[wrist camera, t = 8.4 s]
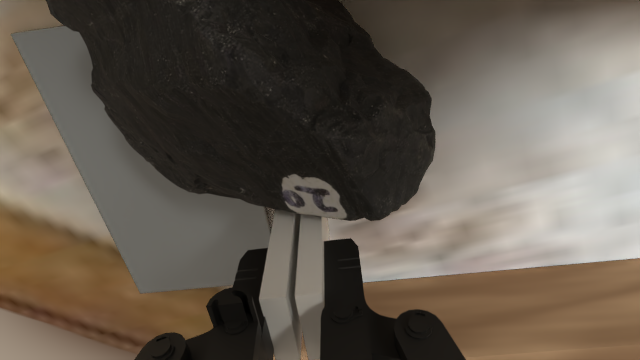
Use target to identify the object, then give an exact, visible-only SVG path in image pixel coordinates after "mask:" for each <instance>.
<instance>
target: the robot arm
mask: <svg viewBox="0 0 640 360" xmlns="http://www.w3.org/2000/svg"><path fill="white" fill-rule="evenodd" d="M206 307H207V310H208V313H209V316H210V318H211V321H212V324H213V326H214V327H213V329H212V330H210V331H208V332H206V333H204V334H202V335H199V336H196V337H194V338H191V339H188V340H185V339H184V338H183V336H182V335H180V334H177V333H165V334H162V335H159V336H157V337H155V338H154V339H152V340H151V341H149V342H148V343H147V344H146V345H145V346H144V347H143V348H142V350H141V351H140V353H139V354H138V355H137V357H136V359H135V360H273V355H274V356H275V359H276V360H301V342H302V332H303V337H304V341H305V346H306V350H307V355H308V360H317V359H320V360H466V359H465V357H464V356H463V354H462V353H461V351H460V349H459V348H458V346H457V345H456V343H455V342H454V340H453V339H452V337H451V335H450V334H449V332H448V331H447V329H446V328H445V326H444V324H443V323H442V321H441V320H440V319H439V318H438V317H437V316H436V315H434V314H432V313H430V312H428V311H425V310H420V309H414V310H408V311H406V312H403V313H401V314H400V315H399V316H398V317H397V319H396V318H391V317H386V316H382V315H379V314H378V313H376V312H374V311H373V310H372V309H370V308H369V306H368V305H367V303H366V301H365V296H364V289H363V281H362V273H361V266H360V258H359V250H358V246H357V245H356V244H355V242H354V241H353V240H352V239H351V238H350V239H340V240H330V241H329V228H328V221H327V217H321V216H316V215H307V214H297V213H292V212H288V211H283V210H276V209H275V213H274V218H273V224H272V229H271V235H270V240H269V246H268V248H262V249H252V250H248V251H247V252H246V253H245V254H244V255H243V257H242V258H241V259H240V261H239V265H238V269H237V273H236V276H235V281H234V284H233V287H232V288H228V289H224V290H222V291H221V292H219V293H217V294H216V295H214V296H213V297H212V298H211V299H210V300H209V302H208V304H207V306H206Z"/></svg>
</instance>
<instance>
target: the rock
mask: <svg viewBox="0 0 640 360" xmlns="http://www.w3.org/2000/svg"><path fill="white" fill-rule="evenodd" d="M46 1H47V4H48V7H49V10H50V13H51V14H52V15H53V16H54V17H55V18H56V19H57V20H58V21H59V22H60V23H62V24H63V25H64V26H66V27H67V28H69V29H71V30H72V31H75V32H79V33H80V35H81V37H82V39H83V40H84V42H85V44H86V46H87V49H88V51H89V54H90V57H91V61H92V66H93V69H92V72H91V78H92V84H91V87H92V90H93V92H94V93H95V94H96V95H97V96H98V98H99V99H100V100H101V101H102V102H103V104H104V105H105V108H104V110H105V112H106V113H107V115H108V116H109V118H110V119H111V121H112V122H113V123H114V124H115V126H116V127H117V128H118V129H119V130H120V132H121V133H122V134H123V135H124V137H125V140H126V141H127V142H128V144H129V145H130V146H131V147H132V148H133V149H134V150H135V151H136V152H137V153H139V154H140V155H141V156H142V157H143V158H144V159H145V160H146V161H147V162H149V163H150V164H151V165H152V166H153V167H154V168H155V169H156V170H157V171H158V172H159V173H160V174H162V175H163V176H164V177H165V178H167V179H168V180H169V181H170V182H172V183H173V184H175V185H176V186H178V187H180V188H182V189H184V190H186V191H188V192H191V193H196V194H207V193H208V194H213V195H217V196H223V197H229V198H236V199H241V200H243V201H245V202H247V203H250V204H253V205H257V206H263V207H269V208H272V209H276V210H283V211H288V212H292V213H297V214H307V215H316V216H321V217H328V218H334V219H341V220H348V221H352V220H358V219H361V218H366V219H368V220H370V221H374V220H381V219H383V218H384V217H386V216H388V215H389V214H390V213H391V212H393V211H396V210H398V209H399V208H400V207H401V205H404V204H406V203H407V202H408V201H409V200H410V199H411V198H412V197H413V196H414V195H415V194H416V193H417V191H418V188H419V185H420V182H421V180H422V178H423V176H424V174H425V172H426V170H427V169H428V167H429V165H430V164H431V162H432V161H433V156H434V151H435V130H434V128H433V126H432V124H431V120H430V116H429V115H430V107H431V97H430V95H429V93H428V92H427V91H426V90H425V88H424V86H423V85H422V84H421V83H420V82H419V81H418V80H417V79H416V78H415V77H413V76H412V75H411V74H410V73H409V72H407V71H406V70H404V69H401V68H399V67H398V66H396V65H395V64H393V63H392V62H390V61H389V60H387V59H385V58H383V57H382V56H381V55H380V53H379V52H378V51H377V50H376V49H375V48H374V45H373V42H372V39H371V37H370V35H369V34H368V33H367V32H366V31H365V30H364V29H363V28H362V27H360V26H359V25H358V24H357V23H355V22H354V20H353V19H352V17H351V15H350V13H349V12H348V11H347V9H346V8H345V7H344V5H343V4H341V3H340V2H339V1H338V0H46Z"/></svg>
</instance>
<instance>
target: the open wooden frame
mask: <svg viewBox="0 0 640 360" xmlns="http://www.w3.org/2000/svg"><path fill="white" fill-rule="evenodd" d="M363 289H364V296H365V301H366V303H367V305H368V306H369V308H370V309H372V310H373V311H374V312H376V313H378V314H379V315H382V316H386V317H391V318H396V319H397V317H398V316H399V315H400V314H401V313H403V312H406V311H408V310H414V309H420V310H425V311H428V312H430V313H432V314H434V315H436V316H437V317H438V318H439V319H440V320H441V321H442V323H443V324H444V326H445V328H446V329H447V331H448V332H449V334H450V335H451V337H452V339H453V340H454V342H455V343H456V345H457V346H458V348H459V349H460V351H461V353H462V354H463V356H464V357H465V359H466V360H640V258H639V259H628V260H616V261H605V262H594V263H583V264H571V265H560V266H549V267H537V268H526V269H515V270H503V271H492V272H481V273H469V274H458V275H447V276H435V277H424V278H413V279H402V280H390V281H379V282H368V283H363Z"/></svg>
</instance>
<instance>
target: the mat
mask: <svg viewBox="0 0 640 360" xmlns="http://www.w3.org/2000/svg"><path fill="white" fill-rule="evenodd" d="M11 36H12V38H13V40H14V42H15V44H16V46H17V48H18V50H19V52H20V54H21V56H22V58H23V60H24V62H25V64H26V66H27V68H28V70H29V72H30V74H31V76H32V78H33V80H34V82H35V84H36V86H37V88H38V90H39V92H40V94H41V96H42V98H43V100H44V102H45V104H46V106H47V108H48V110H49V112H50V114H51V116H52V118H53V120H54V122H55V124H56V126H57V128H58V130H59V132H60V134H61V136H62V138H63V140H64V142H65V144H66V146H67V148H68V150H69V152H70V154H71V156H72V158H73V160H74V162H75V164H76V166H77V168H78V170H79V172H80V174H81V176H82V178H83V180H84V182H85V184H86V186H87V188H88V190H89V192H90V194H91V196H92V198H93V200H94V202H95V204H96V206H97V208H98V210H99V212H100V214H101V216H102V218H103V220H104V222H105V224H106V226H107V228H108V230H109V232H110V234H111V236H112V238H113V240H114V242H115V244H116V246H117V248H118V250H119V252H120V254H121V256H122V258H123V260H124V262H125V264H126V266H127V268H128V270H129V272H130V274H131V276H132V278H133V280H134V282H135V284H136V286H137V288H138V290H139V292H140V294H141V293H152V292H163V291H174V290H185V289H196V288H208V287H219V286H230V285H233V284H234V281H235V276H236V273H237V269H238V265H239V261H240V259H241V258H242V257H243V255H244V254H245V253H246V252H247V251H248V250H252V249H262V248H268V246H269V240H270V235H271V230H270V226H269V222H268V218H267V214H266V209H265V207H263V206H257V205H253V204H250V203H247V202H245V201H243V200H241V199H236V198H229V197H223V196H217V195H213V194H208V193H207V194H196V193H191V192H188V191H186V190H184V189H182V188H180V187H178V186H176V185H175V184H173V183H172V182H170V181H169V180H168V179H167V178H165V177H164V176H163V175H162V174H160V173H159V172H158V171H157V170H156V169H155V168H154V167H153V166H152V165H151V164H150V163H149V162H147V161H146V160H145V159H144V158H143V157H142V156H141V155H140V154H139V153H137V152H136V151H135V150H134V149H133V148H132V147H131V146H130V145H129V144H128V142H127V141H126V140H125V137H124V135H123V134H122V133H121V132H120V130H119V129H118V128H117V127H116V126H115V124H114V123H113V122H112V121H111V119H110V118H109V116H108V115H107V113H106V112H105V110H104V108H105V105H104V104H103V102H102V101H101V100H100V99H99V98H98V96H97V95H96V94H95V93H94V92H93V90H92V87H91V84H92V78H91V72H92V69H93V66H92V61H91V57H90V54H89V51H88V49H87V46H86V44H85V42H84V40H83V39H82V37H81V35H80V33H79V32H75V31H72V30H71V29H69V28H67V27H66V26H60V27H52V28H45V29H38V30H31V31H24V32H17V33H13V34H11Z"/></svg>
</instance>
